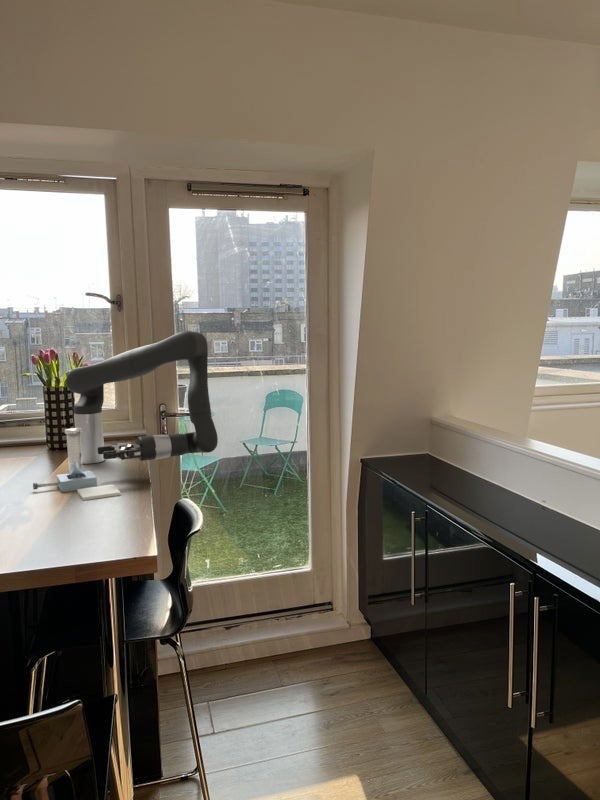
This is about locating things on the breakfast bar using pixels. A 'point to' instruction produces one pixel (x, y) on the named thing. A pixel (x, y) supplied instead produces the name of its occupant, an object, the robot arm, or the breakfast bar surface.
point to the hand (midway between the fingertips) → (100, 453)
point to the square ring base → (71, 482)
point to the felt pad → (98, 492)
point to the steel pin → (74, 452)
